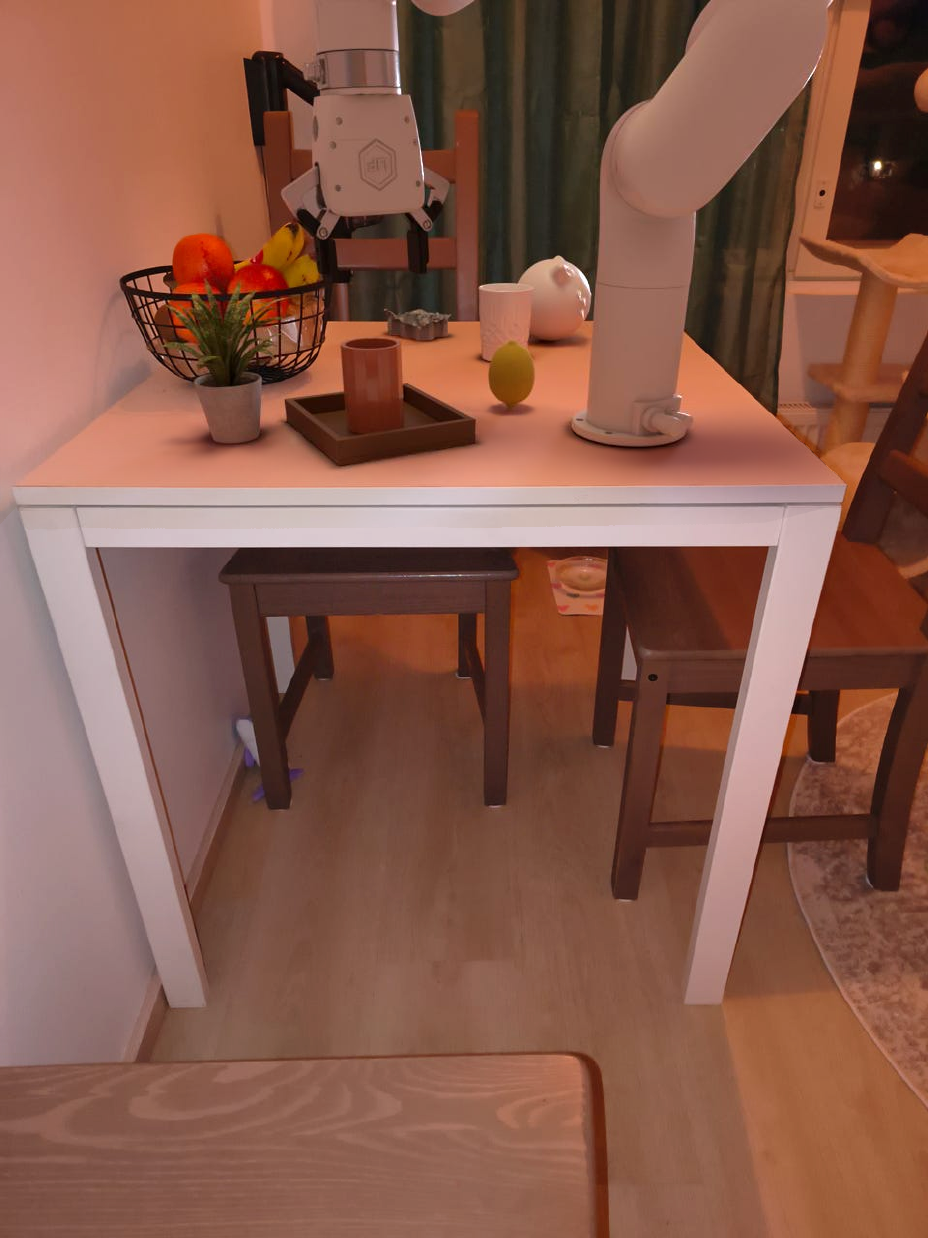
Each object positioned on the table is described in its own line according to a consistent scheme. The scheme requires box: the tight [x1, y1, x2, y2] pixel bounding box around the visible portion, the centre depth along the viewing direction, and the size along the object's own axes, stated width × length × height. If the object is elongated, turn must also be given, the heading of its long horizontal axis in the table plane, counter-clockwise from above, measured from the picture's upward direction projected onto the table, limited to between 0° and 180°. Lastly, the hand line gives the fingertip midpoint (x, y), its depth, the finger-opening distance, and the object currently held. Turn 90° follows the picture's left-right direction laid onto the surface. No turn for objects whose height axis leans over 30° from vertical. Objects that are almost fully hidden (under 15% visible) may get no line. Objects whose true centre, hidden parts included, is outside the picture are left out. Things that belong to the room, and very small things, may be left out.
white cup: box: [478, 282, 533, 362], centre depth 122 cm, size 8×8×10 cm
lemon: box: [488, 341, 536, 409], centre depth 99 cm, size 6×6×8 cm
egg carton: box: [382, 308, 453, 342], centre depth 139 cm, size 11×8×4 cm
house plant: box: [161, 278, 294, 444], centre depth 86 cm, size 14×14×16 cm
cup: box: [340, 336, 404, 434], centre depth 90 cm, size 6×6×9 cm
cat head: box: [517, 255, 592, 342], centre depth 133 cm, size 15×13×12 cm
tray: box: [284, 382, 477, 467], centre depth 92 cm, size 18×16×3 cm
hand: (375, 276), depth 85 cm, fingers open, 9 cm apart
